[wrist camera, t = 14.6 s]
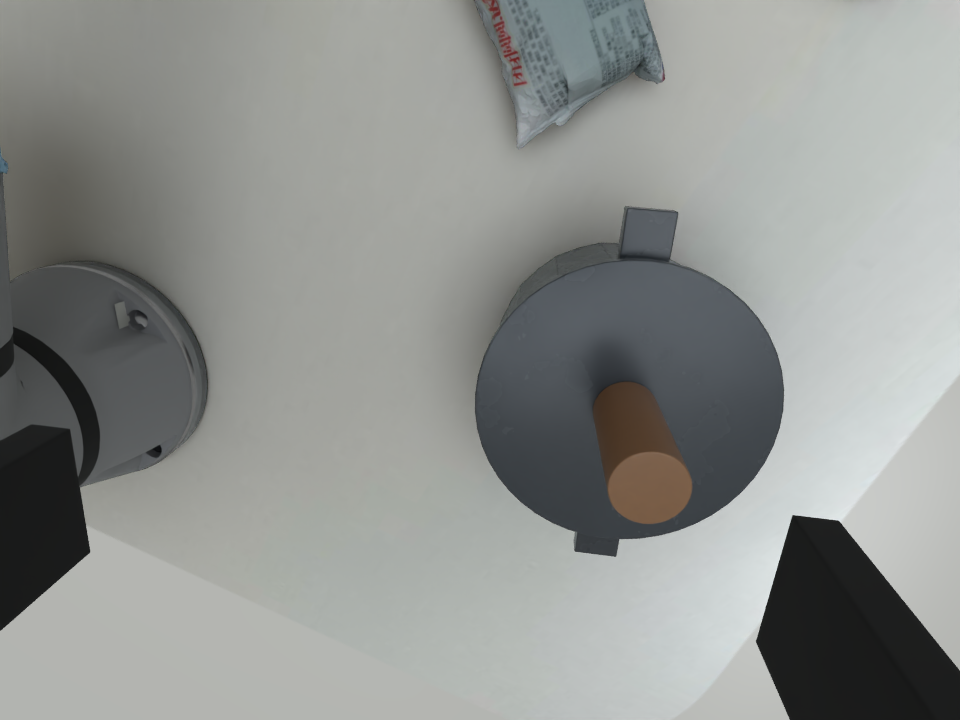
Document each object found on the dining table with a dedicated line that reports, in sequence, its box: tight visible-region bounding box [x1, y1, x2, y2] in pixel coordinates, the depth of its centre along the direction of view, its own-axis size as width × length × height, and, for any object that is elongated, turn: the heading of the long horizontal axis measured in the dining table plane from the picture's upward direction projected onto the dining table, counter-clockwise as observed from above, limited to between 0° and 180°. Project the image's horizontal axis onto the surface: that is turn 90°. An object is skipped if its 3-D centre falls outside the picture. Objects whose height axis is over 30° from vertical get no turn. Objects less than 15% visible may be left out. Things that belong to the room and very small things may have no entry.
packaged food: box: [474, 0, 665, 149], centre depth 31 cm, size 9×12×5 cm
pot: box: [499, 206, 680, 557], centre depth 35 cm, size 14×19×9 cm
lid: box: [475, 258, 784, 539], centre depth 27 cm, size 15×15×9 cm
